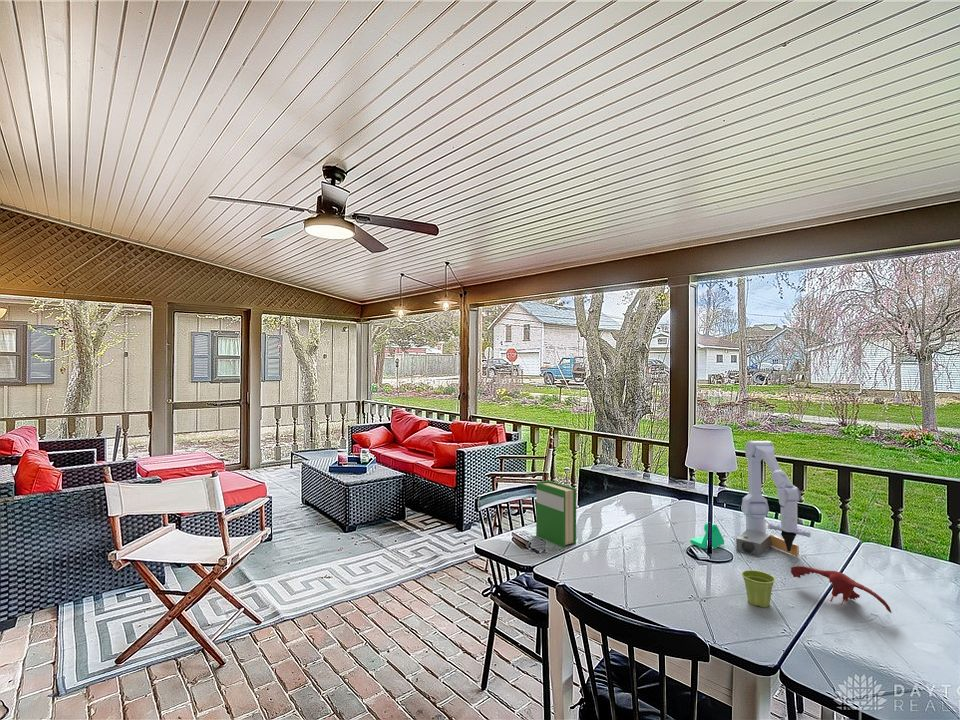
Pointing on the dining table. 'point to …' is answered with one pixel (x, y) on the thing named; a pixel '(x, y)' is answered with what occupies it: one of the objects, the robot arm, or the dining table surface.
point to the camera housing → (753, 542)
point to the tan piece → (784, 545)
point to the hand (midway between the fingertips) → (789, 550)
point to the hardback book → (556, 513)
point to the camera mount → (702, 541)
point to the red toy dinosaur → (838, 583)
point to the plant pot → (758, 587)
